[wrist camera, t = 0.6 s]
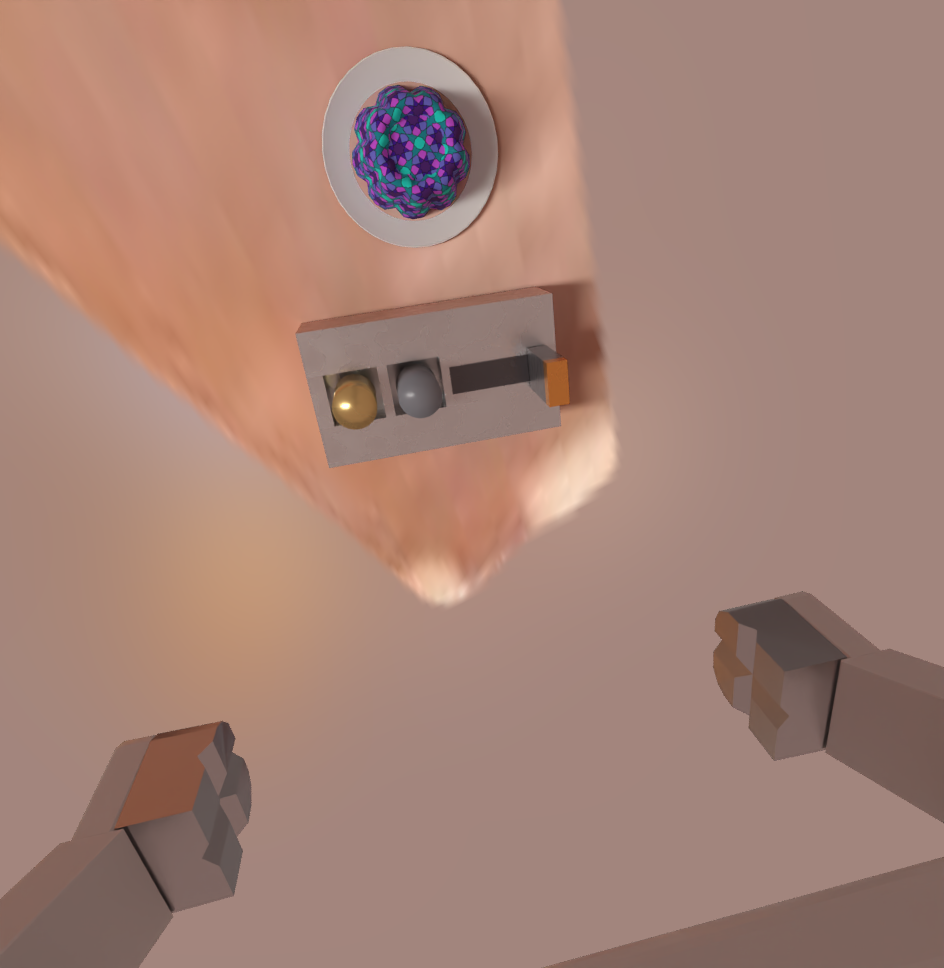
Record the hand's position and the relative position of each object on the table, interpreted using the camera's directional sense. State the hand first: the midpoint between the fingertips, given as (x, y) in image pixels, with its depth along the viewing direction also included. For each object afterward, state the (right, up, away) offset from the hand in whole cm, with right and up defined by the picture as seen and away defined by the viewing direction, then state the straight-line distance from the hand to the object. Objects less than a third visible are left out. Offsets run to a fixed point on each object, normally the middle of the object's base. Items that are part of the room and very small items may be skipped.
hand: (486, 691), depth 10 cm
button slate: (-4, +11, +34) cm, 36 cm away
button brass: (-9, +10, +33) cm, 36 cm away
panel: (-4, +12, +37) cm, 39 cm away
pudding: (-4, +26, +31) cm, 41 cm away
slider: (+5, +12, +34) cm, 36 cm away
